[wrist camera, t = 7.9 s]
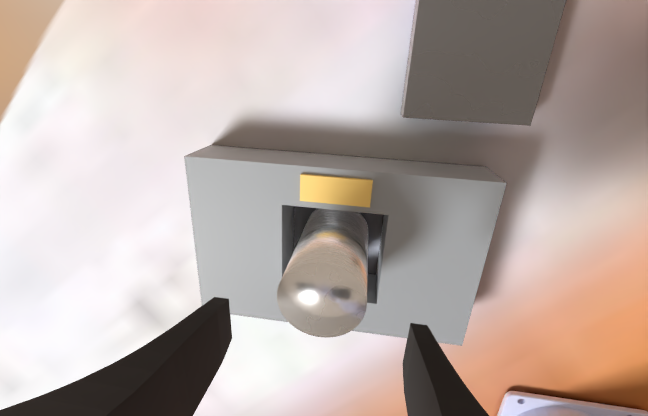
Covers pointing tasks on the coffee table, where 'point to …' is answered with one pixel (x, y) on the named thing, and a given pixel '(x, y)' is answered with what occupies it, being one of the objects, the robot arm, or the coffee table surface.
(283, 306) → the metal peg
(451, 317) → the hole board
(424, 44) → the gray square base plate
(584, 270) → the coffee table surface
